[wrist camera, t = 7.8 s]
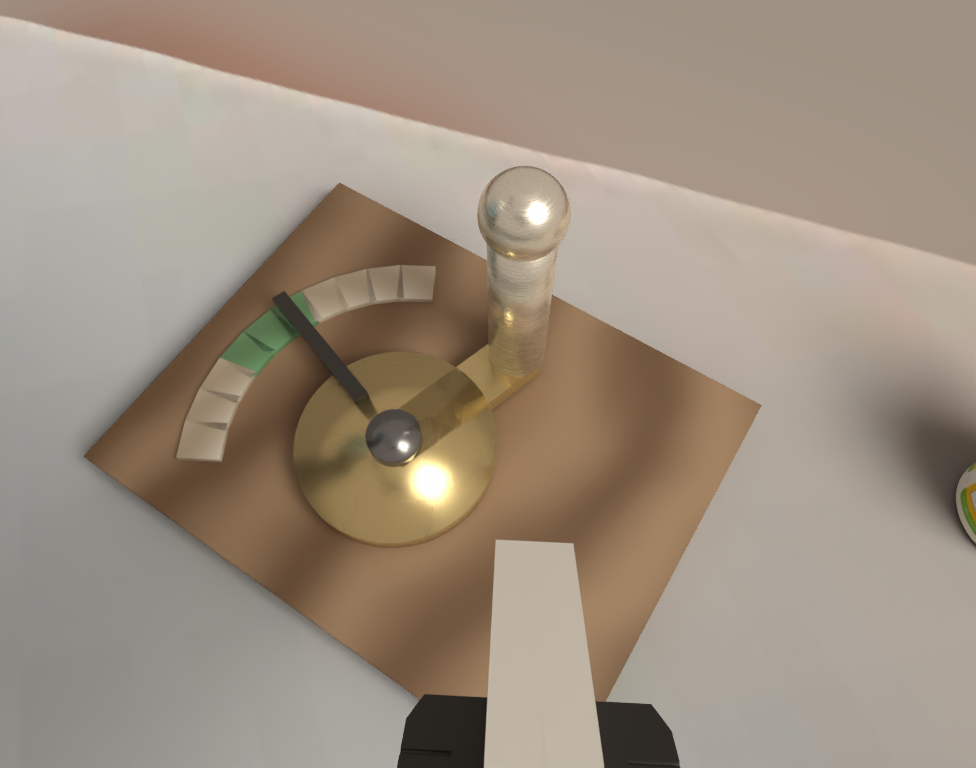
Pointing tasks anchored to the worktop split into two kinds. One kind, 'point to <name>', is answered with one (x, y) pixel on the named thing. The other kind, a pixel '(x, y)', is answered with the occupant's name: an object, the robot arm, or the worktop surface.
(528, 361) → the dial
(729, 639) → the worktop surface
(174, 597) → the worktop surface
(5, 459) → the worktop surface
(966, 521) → the supplement bottle
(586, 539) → the gauge board
